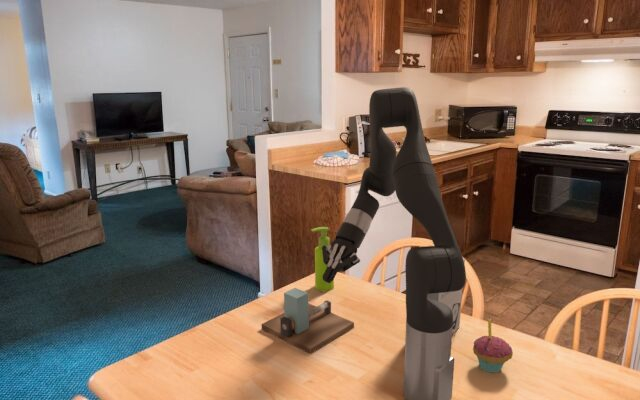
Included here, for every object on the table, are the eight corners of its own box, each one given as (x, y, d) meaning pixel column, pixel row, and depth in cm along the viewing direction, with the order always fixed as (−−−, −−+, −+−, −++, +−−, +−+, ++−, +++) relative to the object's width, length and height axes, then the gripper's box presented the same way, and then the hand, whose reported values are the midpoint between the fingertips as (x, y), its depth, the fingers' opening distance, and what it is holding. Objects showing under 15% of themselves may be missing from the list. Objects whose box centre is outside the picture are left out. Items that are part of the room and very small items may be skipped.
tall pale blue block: (308, 328, 127) (308, 293, 124) (298, 334, 124) (297, 298, 122) (295, 322, 130) (295, 287, 128) (285, 327, 127) (283, 292, 125)
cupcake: (464, 360, 115) (467, 315, 112) (493, 353, 118) (497, 308, 115) (488, 381, 107) (492, 333, 104) (518, 373, 110) (524, 325, 107)
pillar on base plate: (353, 327, 131) (354, 307, 129) (310, 354, 119) (309, 332, 117) (305, 306, 142) (305, 288, 141) (261, 329, 130) (260, 309, 129)
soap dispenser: (310, 285, 157) (308, 226, 152) (330, 282, 159) (329, 223, 154) (315, 292, 151) (314, 231, 146) (336, 289, 153) (336, 229, 148)
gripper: (330, 216, 140) (301, 269, 135) (367, 226, 132) (338, 282, 126) (342, 229, 145) (315, 280, 140) (378, 239, 137) (350, 294, 131)
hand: (326, 281), depth 133 cm, fingers closed
